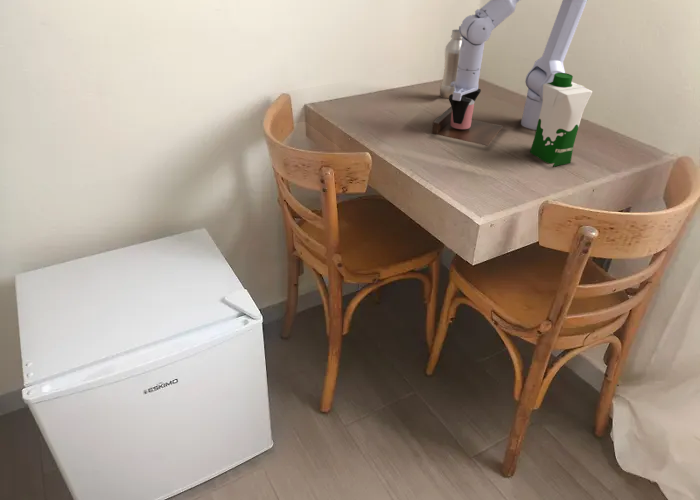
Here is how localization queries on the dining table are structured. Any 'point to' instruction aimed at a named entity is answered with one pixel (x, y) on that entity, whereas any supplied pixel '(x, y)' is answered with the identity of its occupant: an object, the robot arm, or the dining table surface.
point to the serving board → (466, 130)
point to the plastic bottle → (451, 64)
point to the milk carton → (559, 119)
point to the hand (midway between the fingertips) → (461, 119)
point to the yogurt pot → (465, 117)
